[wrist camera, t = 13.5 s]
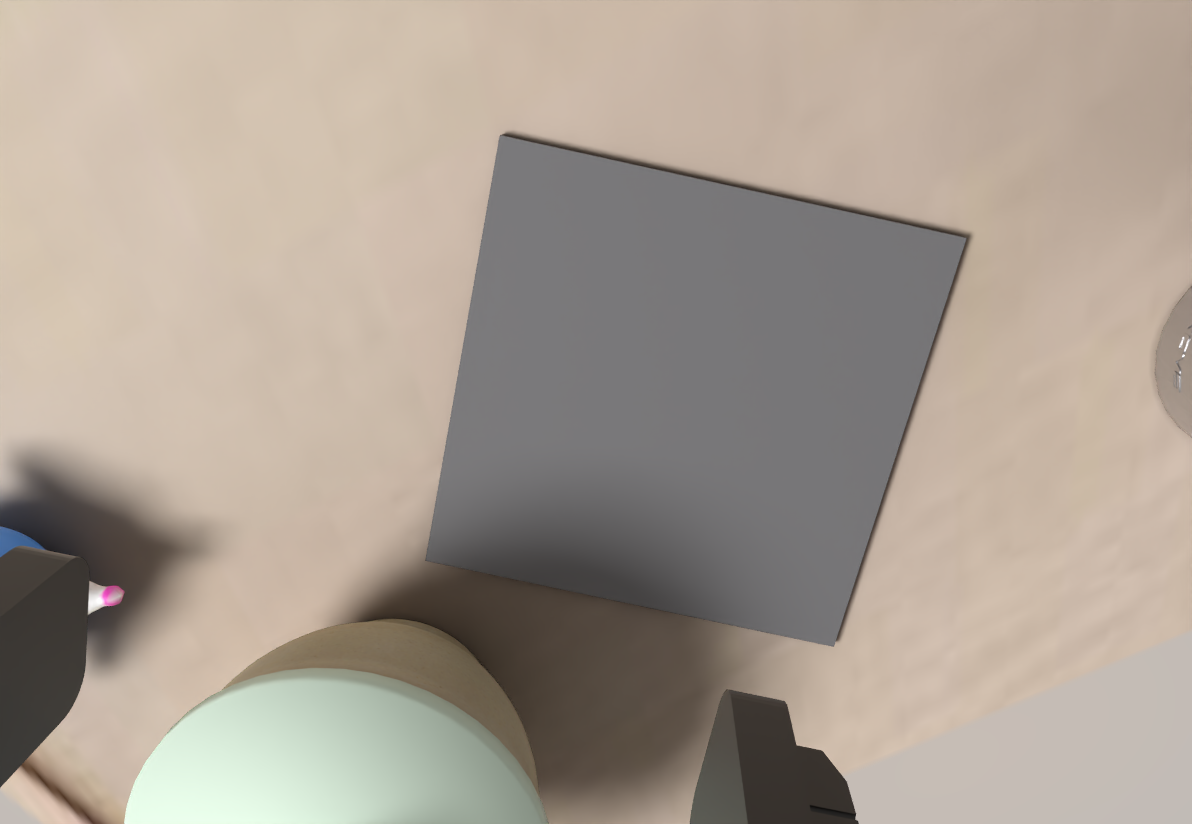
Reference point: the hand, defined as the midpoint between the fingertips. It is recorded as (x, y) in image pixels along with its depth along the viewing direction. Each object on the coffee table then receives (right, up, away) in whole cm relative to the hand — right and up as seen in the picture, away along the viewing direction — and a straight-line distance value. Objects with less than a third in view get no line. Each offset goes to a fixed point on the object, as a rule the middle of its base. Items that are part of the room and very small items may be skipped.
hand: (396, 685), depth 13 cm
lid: (-8, -14, +28) cm, 33 cm away
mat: (+6, +4, +33) cm, 34 cm away
